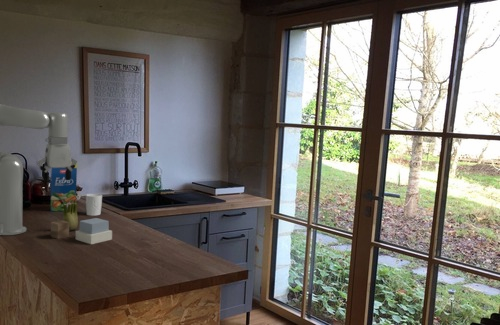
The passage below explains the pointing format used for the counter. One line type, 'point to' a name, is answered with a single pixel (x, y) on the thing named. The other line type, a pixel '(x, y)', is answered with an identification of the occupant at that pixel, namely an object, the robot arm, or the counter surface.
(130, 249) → the counter surface
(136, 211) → the counter surface
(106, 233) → the cream block
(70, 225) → the fennel bulb
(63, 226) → the walnut block
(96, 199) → the white cup
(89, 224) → the grey block
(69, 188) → the blue food package
